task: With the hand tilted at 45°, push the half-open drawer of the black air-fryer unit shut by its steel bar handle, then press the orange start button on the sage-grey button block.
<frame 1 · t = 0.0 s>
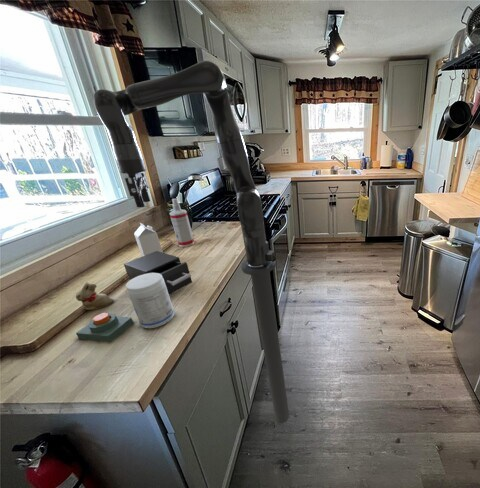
hand: (144, 204, 95), 31 cm above the counter, tool pointing down, fingers open, 8 cm apart
start button: (101, 318, 77), point 4 cm above the counter, slide at 0.1 cm
fryer: (159, 284, 103), on the counter
milk carton: (155, 263, 120), on the counter
chocolate bunny: (98, 306, 91), on the counter
supplement tub: (158, 320, 83), on the counter
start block: (107, 330, 79), on the counter
drawer: (168, 276, 97), point 5 cm above the counter, slide at 4.0 cm
spray bottle: (186, 244, 140), on the counter
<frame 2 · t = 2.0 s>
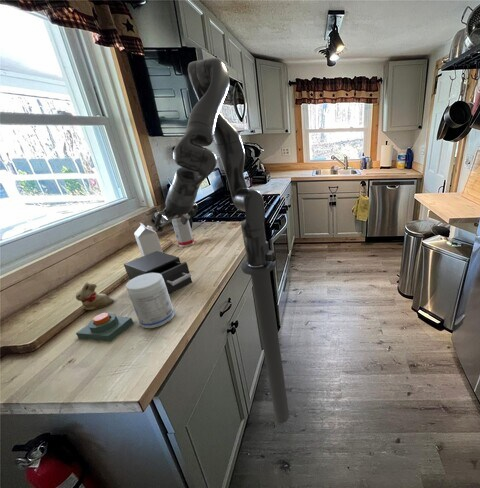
hand: (171, 226, 91), 25 cm above the counter, tool tilted 45°, fingers open, 8 cm apart
nothing on the counter moved.
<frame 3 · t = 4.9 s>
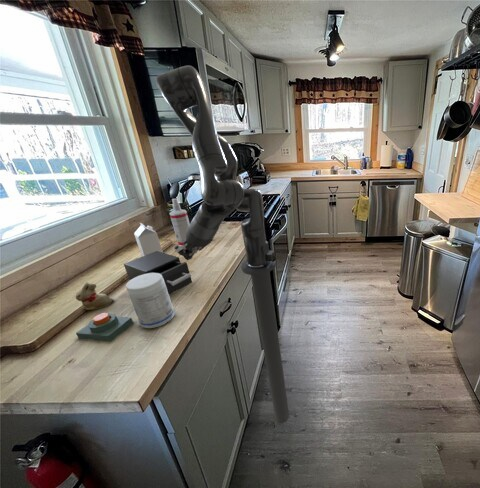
hand: (187, 257, 88), 16 cm above the counter, tool tilted 45°, fingers closed
nothing on the counter moved.
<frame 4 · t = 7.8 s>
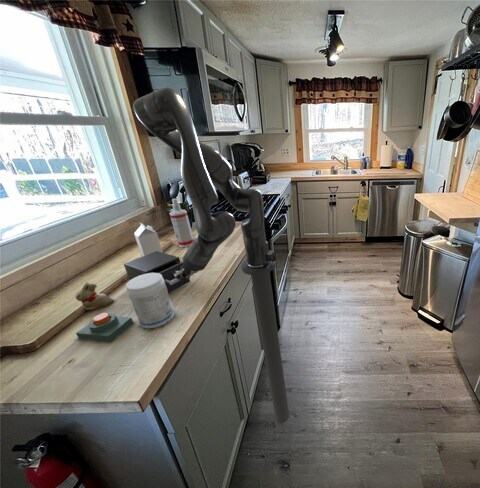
hand: (184, 279, 94), 6 cm above the counter, tool tilted 45°, fingers closed
drawer: (166, 276, 98), point 5 cm above the counter, slide at 2.8 cm, touching gripper
everything else where it was.
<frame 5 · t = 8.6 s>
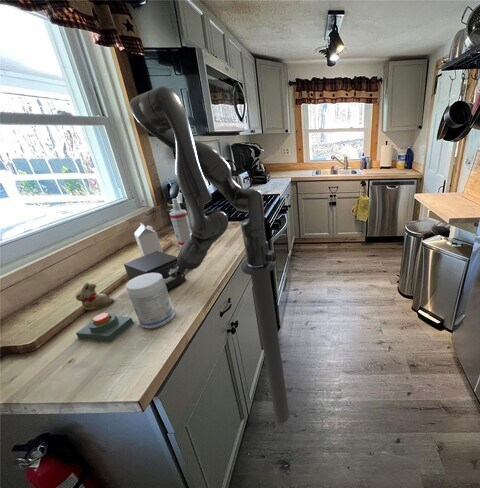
hand: (179, 277, 95), 6 cm above the counter, tool tilted 45°, fingers closed
drawer: (161, 274, 99), point 5 cm above the counter, slide at 0.0 cm, touching fryer, gripper
everything else where it was.
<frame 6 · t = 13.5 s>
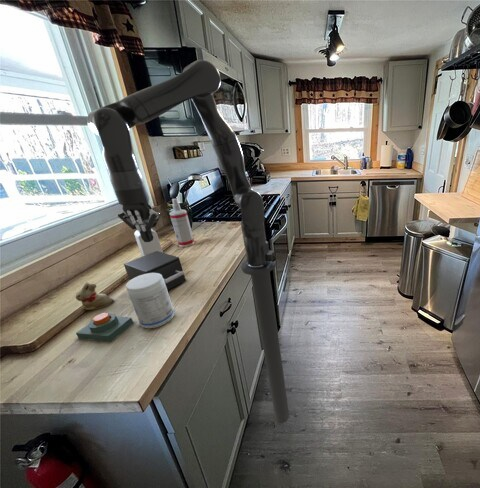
hand: (148, 241, 82), 24 cm above the counter, tool pointing down, fingers closed
drawer: (161, 274, 99), point 5 cm above the counter, slide at 0.0 cm, touching fryer
everything else where it was.
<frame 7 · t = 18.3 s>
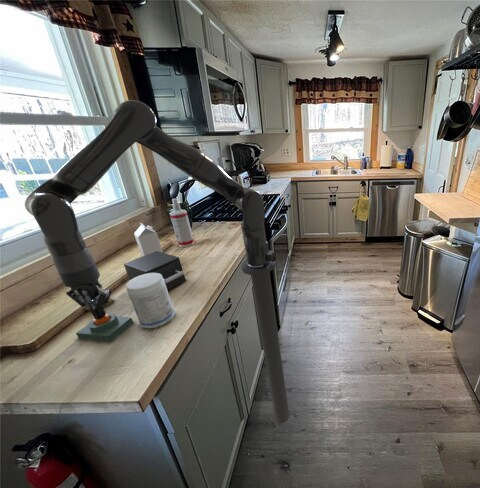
hand: (100, 317, 77), 5 cm above the counter, tool pointing down, fingers closed
start button: (101, 319, 77), point 4 cm above the counter, slide at -0.1 cm, touching gripper
everything else where it was.
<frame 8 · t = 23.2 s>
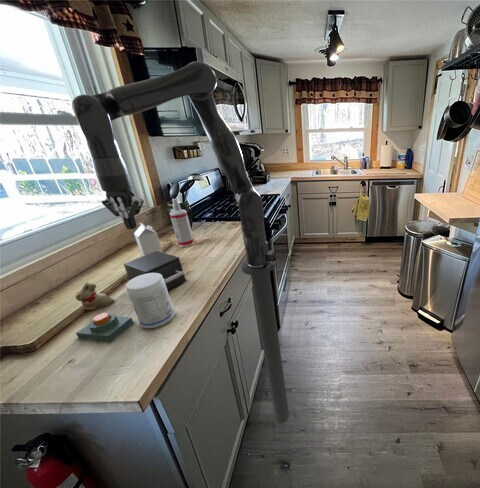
hand: (132, 228, 83), 27 cm above the counter, tool pointing down, fingers closed
start button: (101, 318, 77), point 4 cm above the counter, slide at 0.1 cm
everything else where it was.
at the end: drawer slide at 0.0 cm; start button pushed in 1.1 cm at the most during the clip, back to where it started at the end; start button slide at 0.1 cm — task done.
